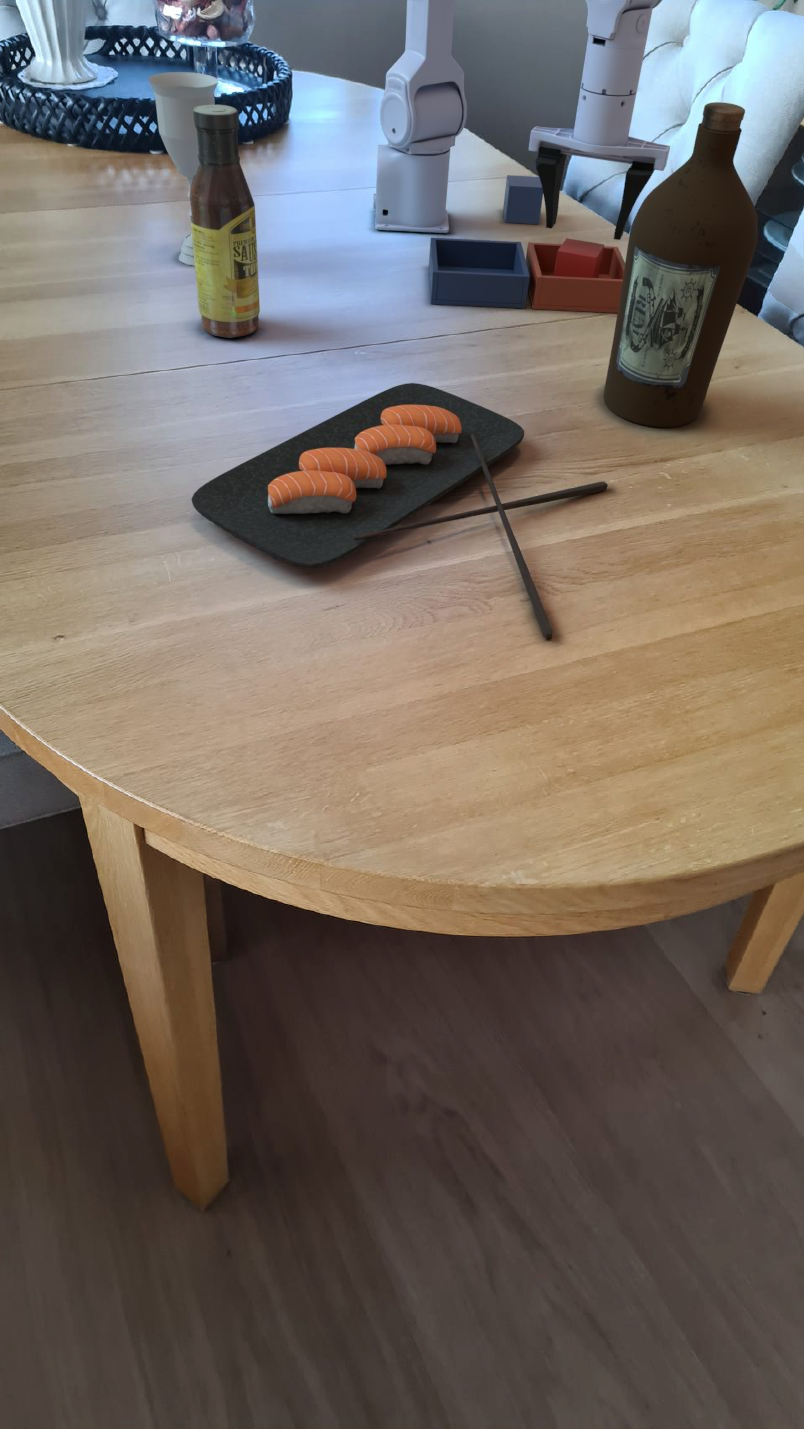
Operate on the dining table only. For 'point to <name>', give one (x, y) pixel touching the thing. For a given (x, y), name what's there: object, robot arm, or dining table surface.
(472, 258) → the blue bin
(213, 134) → the sauce bottle
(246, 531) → the sushi plate
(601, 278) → the red bin
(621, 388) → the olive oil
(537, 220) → the blue block
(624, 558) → the dining table surface
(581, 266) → the red block
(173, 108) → the chalice
